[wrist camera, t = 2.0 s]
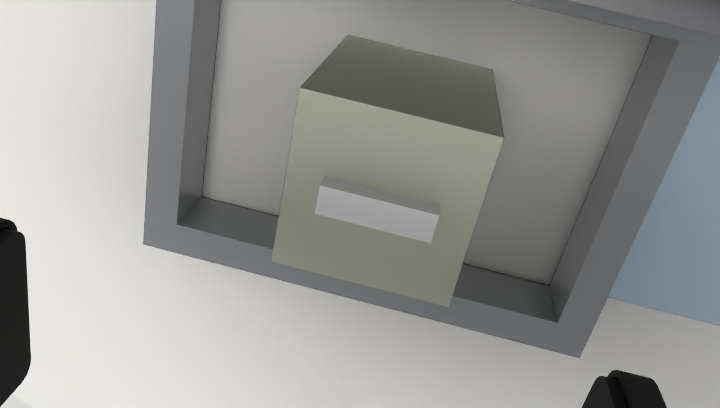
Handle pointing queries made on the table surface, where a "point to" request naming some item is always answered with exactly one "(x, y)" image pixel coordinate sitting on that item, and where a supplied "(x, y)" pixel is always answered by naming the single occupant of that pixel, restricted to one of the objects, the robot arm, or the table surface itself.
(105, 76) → the table surface
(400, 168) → the block
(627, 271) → the pad
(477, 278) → the case
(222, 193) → the table surface
